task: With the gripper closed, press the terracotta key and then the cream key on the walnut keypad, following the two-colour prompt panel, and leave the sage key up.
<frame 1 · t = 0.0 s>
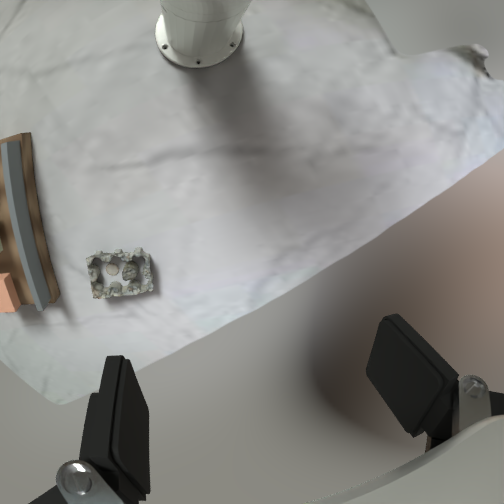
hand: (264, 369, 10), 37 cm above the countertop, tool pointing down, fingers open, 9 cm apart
keypad: (6, 224, 37), on the countertop
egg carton: (122, 266, 46), on the countertop
key terracotta: (0, 293, 35), point 6 cm above the countertop, slide at 0.0 cm
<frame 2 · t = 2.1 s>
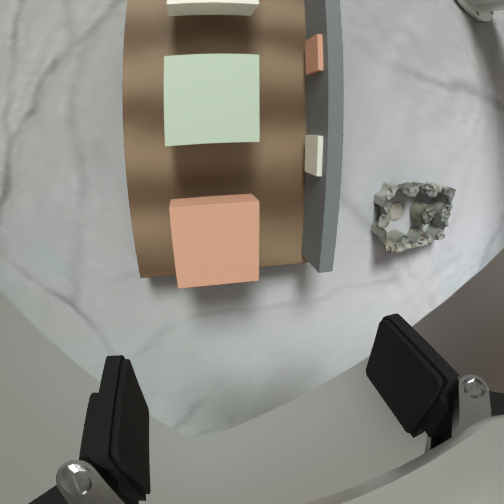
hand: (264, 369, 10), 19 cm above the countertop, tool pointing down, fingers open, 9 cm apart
keypad: (222, 105, 23), on the countertop
key sage: (210, 99, 18), point 6 cm above the countertop, slide at 0.0 cm
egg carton: (404, 207, 32), on the countertop
key terracotta: (214, 240, 22), point 6 cm above the countertop, slide at 0.0 cm
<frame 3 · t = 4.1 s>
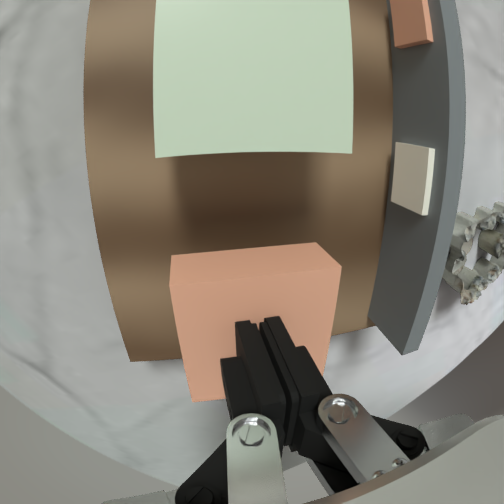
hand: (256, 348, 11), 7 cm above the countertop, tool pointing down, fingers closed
keypad: (256, 86, 14), on the countertop
key sage: (251, 61, 8), point 6 cm above the countertop, slide at 0.0 cm
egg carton: (472, 237, 22), on the countertop
key terracotta: (253, 326, 12), point 6 cm above the countertop, slide at 0.0 cm, touching gripper
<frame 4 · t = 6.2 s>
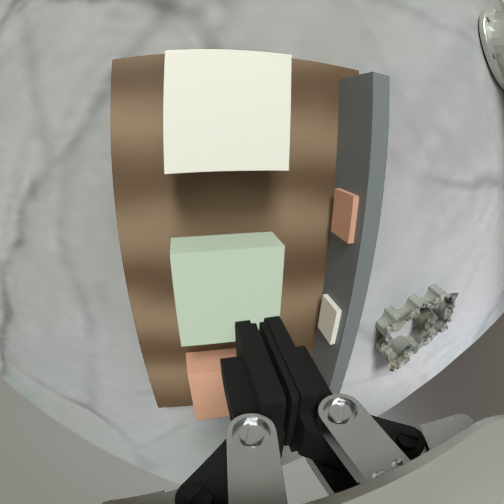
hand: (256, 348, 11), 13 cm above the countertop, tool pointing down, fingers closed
keypad: (234, 250, 23), on the countertop
key sage: (226, 289, 17), point 6 cm above the countertop, slide at 0.0 cm
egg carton: (407, 314, 32), on the countertop
key terracotta: (227, 384, 23), point 4 cm above the countertop, slide at 1.6 cm
key cream: (225, 110, 14), point 6 cm above the countertop, slide at 0.0 cm
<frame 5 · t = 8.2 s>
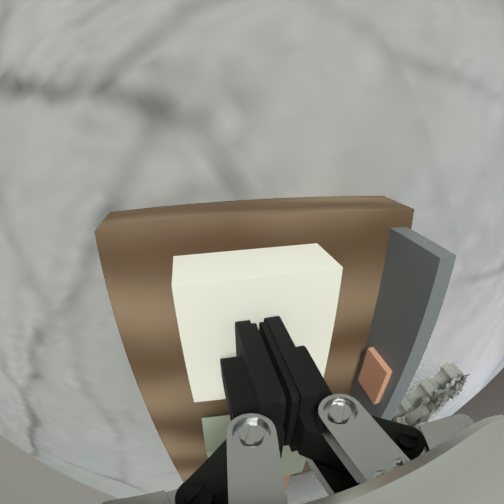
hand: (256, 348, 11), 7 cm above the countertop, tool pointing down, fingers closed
keypad: (259, 383, 21), on the countertop
key sage: (256, 450, 16), point 6 cm above the countertop, slide at 0.0 cm
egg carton: (419, 390, 30), on the countertop
key terracotta: (252, 482, 21), point 4 cm above the countertop, slide at 1.6 cm
key cream: (254, 327, 12), point 5 cm above the countertop, slide at 0.5 cm, touching gripper
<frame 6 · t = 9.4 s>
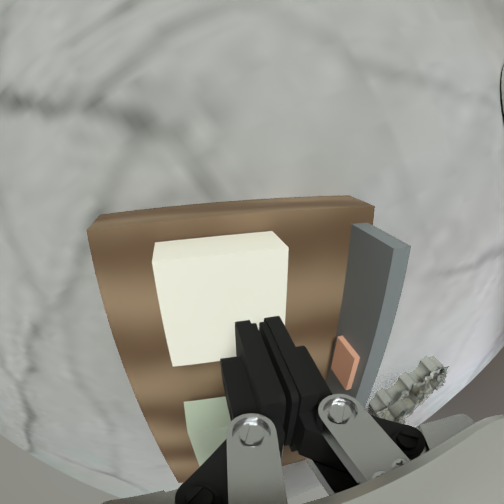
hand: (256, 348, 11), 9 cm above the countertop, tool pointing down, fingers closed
keypad: (239, 373, 23), on the countertop
key sage: (236, 434, 17), point 6 cm above the countertop, slide at 0.0 cm
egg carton: (401, 384, 32), on the countertop
key cream: (221, 300, 15), point 4 cm above the countertop, slide at 1.6 cm
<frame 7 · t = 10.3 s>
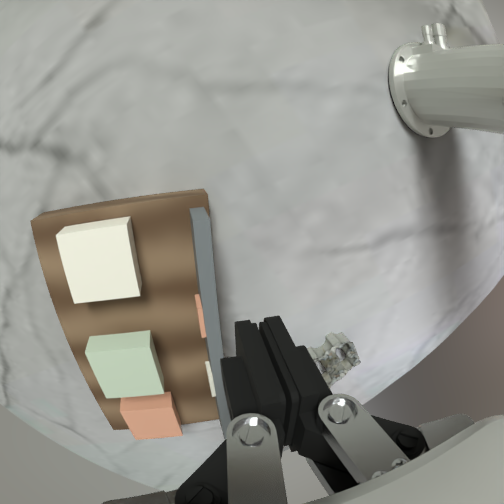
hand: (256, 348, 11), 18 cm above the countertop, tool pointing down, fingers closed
keypad: (143, 328, 30), on the countertop
key sage: (126, 366, 24), point 6 cm above the countertop, slide at 0.0 cm
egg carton: (314, 359, 39), on the countertop
key terracotta: (152, 417, 29), point 4 cm above the countertop, slide at 1.6 cm
key cream: (100, 260, 22), point 4 cm above the countertop, slide at 1.6 cm
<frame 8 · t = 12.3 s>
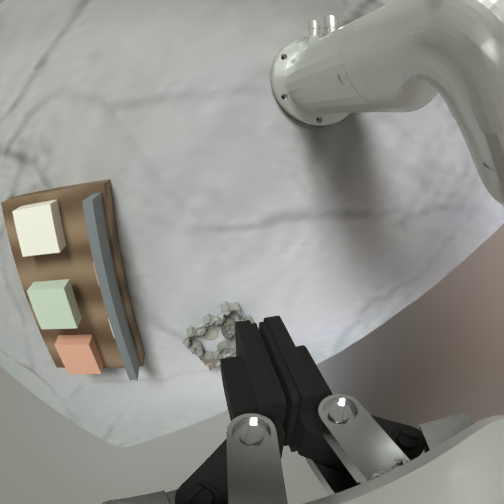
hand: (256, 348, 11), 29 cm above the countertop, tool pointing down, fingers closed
keypad: (75, 283, 38), on the countertop
key sage: (54, 305, 32), point 6 cm above the countertop, slide at 0.0 cm
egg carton: (218, 326, 46), on the countertop
key terracotta: (79, 354, 37), point 4 cm above the countertop, slide at 1.6 cm
key cream: (38, 228, 30), point 4 cm above the countertop, slide at 1.6 cm
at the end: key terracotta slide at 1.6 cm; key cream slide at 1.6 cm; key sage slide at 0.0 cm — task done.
